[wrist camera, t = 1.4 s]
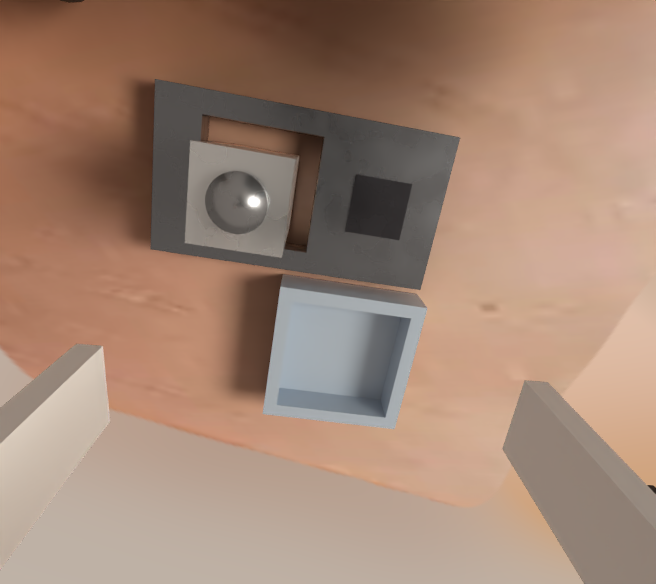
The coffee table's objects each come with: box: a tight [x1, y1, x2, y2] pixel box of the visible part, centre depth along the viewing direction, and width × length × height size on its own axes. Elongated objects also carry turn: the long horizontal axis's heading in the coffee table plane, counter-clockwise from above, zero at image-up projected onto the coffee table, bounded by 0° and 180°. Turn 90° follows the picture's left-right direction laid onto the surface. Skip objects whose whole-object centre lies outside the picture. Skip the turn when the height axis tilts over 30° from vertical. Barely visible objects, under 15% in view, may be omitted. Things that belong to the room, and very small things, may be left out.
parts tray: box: [263, 274, 427, 429], centre depth 33 cm, size 11×11×3 cm
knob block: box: [185, 140, 300, 258], centre depth 24 cm, size 5×5×11 cm
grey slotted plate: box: [151, 79, 460, 290], centre depth 29 cm, size 11×20×2 cm, turn 81°
